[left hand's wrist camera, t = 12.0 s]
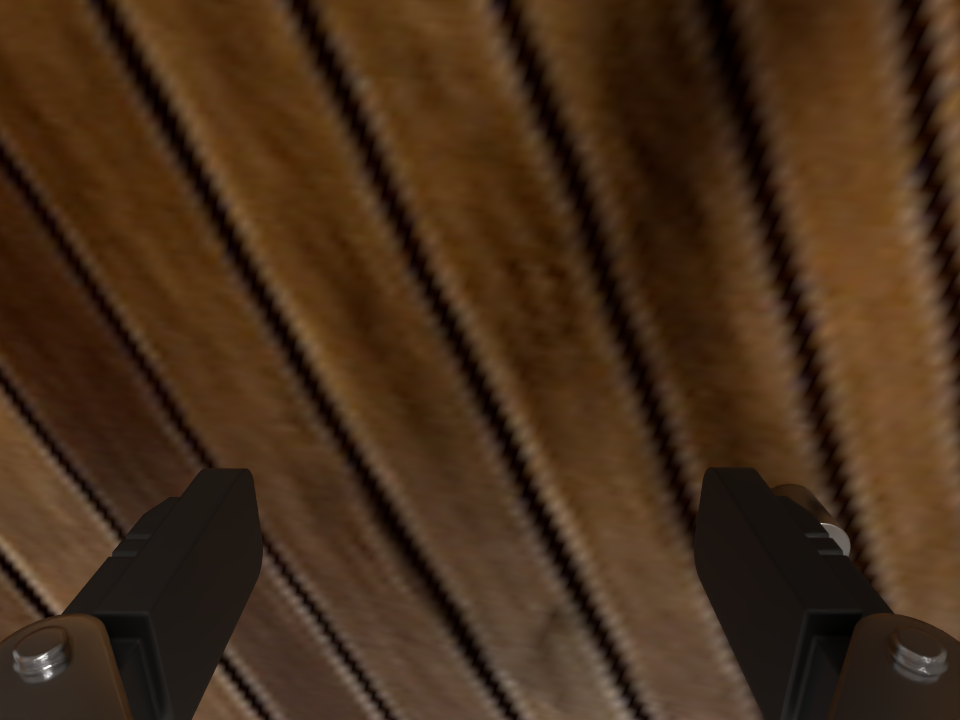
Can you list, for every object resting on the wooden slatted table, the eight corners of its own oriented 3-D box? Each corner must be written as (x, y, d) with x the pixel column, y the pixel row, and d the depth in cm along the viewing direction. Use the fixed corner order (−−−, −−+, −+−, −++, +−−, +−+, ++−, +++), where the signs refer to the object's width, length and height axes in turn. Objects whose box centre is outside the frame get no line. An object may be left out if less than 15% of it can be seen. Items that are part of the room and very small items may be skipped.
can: (802, 473, 39) (836, 512, 36) (826, 519, 40) (861, 561, 37) (742, 502, 40) (769, 543, 36) (767, 546, 41) (796, 591, 37)
